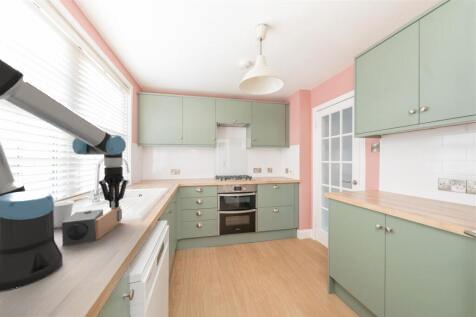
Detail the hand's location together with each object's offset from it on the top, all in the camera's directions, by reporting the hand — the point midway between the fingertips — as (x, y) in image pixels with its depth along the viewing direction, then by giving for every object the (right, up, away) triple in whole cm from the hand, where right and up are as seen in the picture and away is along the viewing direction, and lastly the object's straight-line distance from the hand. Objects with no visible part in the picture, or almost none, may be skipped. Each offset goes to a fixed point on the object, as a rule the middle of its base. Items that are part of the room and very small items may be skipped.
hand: (114, 213), depth 92 cm
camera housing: (-4, -6, -13) cm, 15 cm away
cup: (-26, -6, -1) cm, 27 cm away
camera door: (+3, -5, -7) cm, 9 cm away
